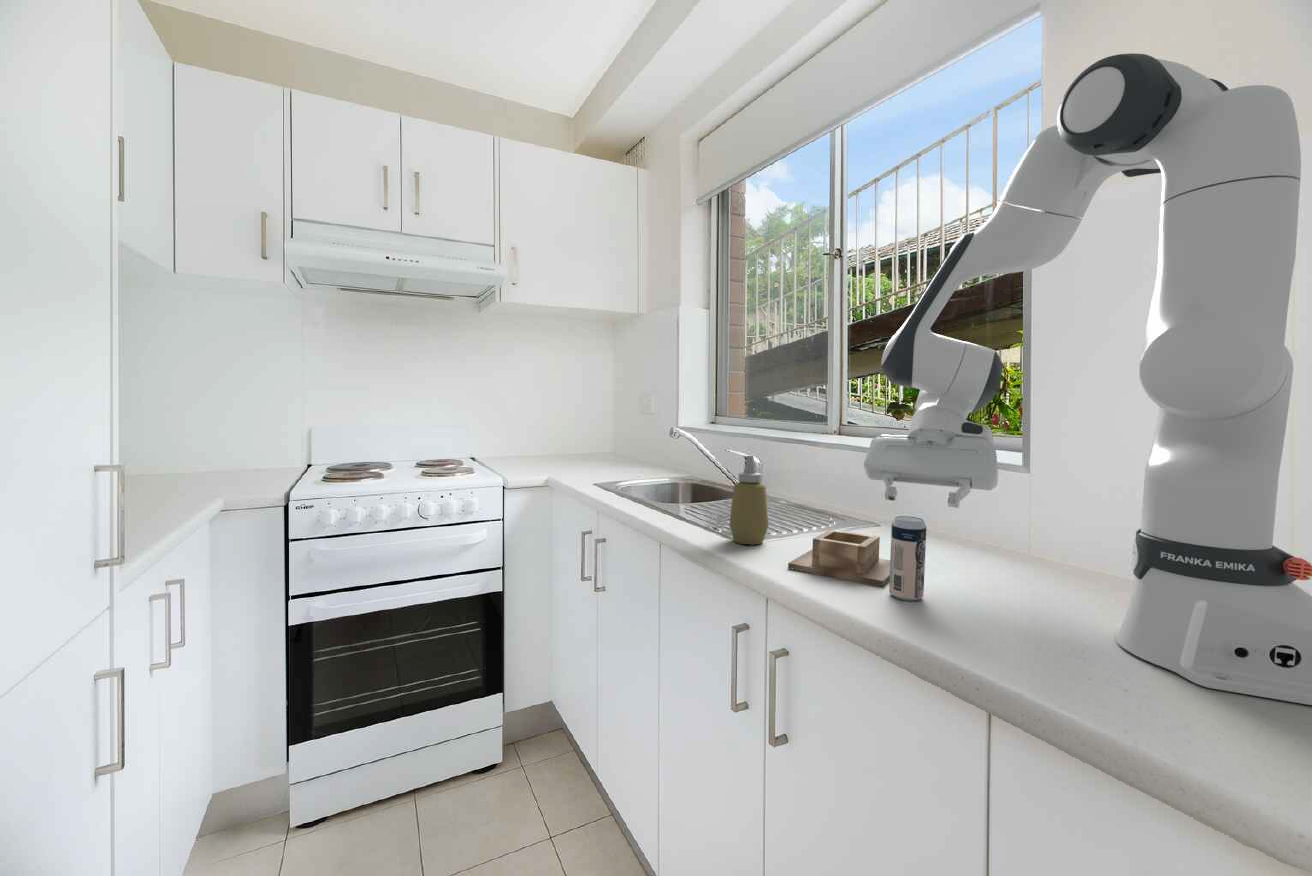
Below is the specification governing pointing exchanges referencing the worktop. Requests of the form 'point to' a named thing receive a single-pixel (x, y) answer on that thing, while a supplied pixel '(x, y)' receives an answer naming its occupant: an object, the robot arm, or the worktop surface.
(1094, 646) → the worktop surface
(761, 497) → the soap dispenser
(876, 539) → the can caddy
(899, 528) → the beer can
